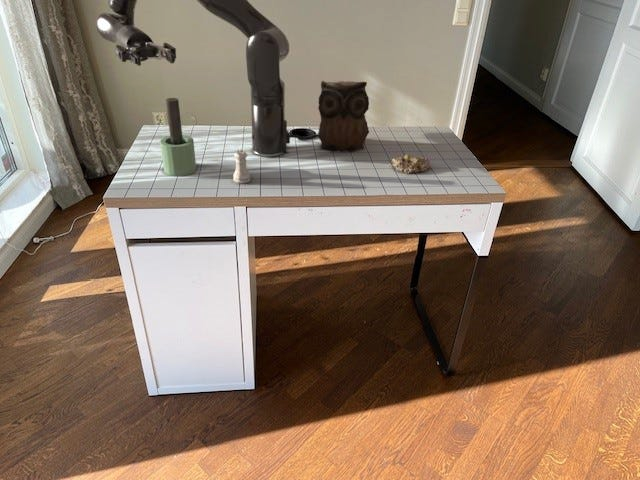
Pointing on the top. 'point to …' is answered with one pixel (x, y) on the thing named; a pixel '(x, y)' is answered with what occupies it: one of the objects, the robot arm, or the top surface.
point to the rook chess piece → (241, 168)
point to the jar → (178, 156)
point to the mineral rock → (410, 164)
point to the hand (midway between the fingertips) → (156, 60)
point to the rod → (174, 121)
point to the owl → (343, 115)
